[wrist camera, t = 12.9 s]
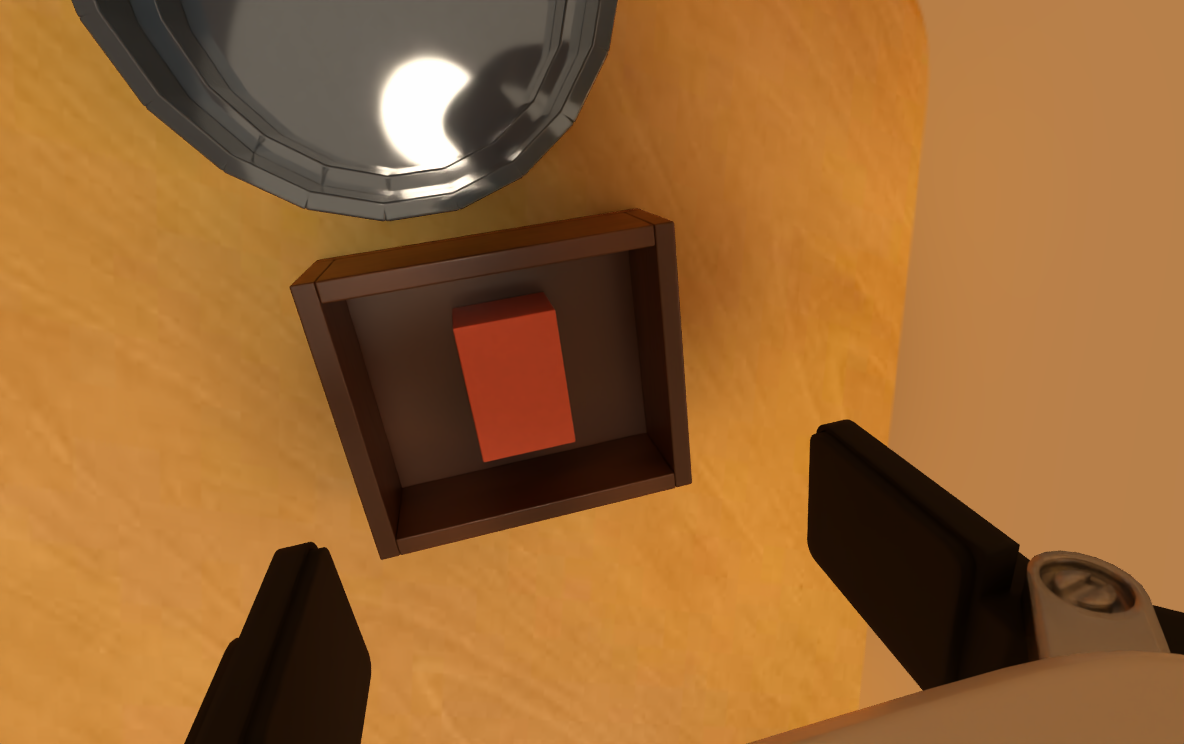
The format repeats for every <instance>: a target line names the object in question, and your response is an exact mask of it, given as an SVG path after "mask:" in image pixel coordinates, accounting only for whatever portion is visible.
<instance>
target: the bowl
mask: <svg viewBox="0 0 1184 744" xmlns="http://www.w3.org/2000/svg"><path fill="white" fill-rule="evenodd" d="M617 2H618V0H72V3H73V5H74V8H75V10H76V13H77V15H78V16H79V17H80V20H81V22H82V23H83V24H84V26H85V27H86V28H87V30H88V31H89V33H90V34H91V35H92V37H93V38H94V39H95V41H96V42H97V43H98V45H99V46H100V47H101V49H102V50H103V51H104V53H105V54H106V56H107V57H108V58H109V60H110V61H111V62H112V64H113V65H114V66H115V68H116V69H117V70H118V72H119V73H120V74H121V76H122V77H123V78H124V80H125V81H126V83H127V84H128V85H129V87H130V88H131V89H132V91H133V92H134V93H135V95H136V96H137V97H138V99H139V100H140V101H141V103H142V104H143V105H144V106H146V108H147V110H149V111H150V112H151V113H152V114H154V115H155V116H156V117H157V118H158V119H160V120H161V121H162V122H163V123H165V124H166V125H167V126H168V127H169V128H171V129H172V130H173V131H174V132H175V133H177V134H178V135H179V136H180V137H182V138H183V139H184V140H185V141H186V142H188V143H189V144H190V145H191V146H193V147H194V148H195V149H196V150H197V151H199V152H200V153H201V154H202V155H203V156H205V157H206V158H207V159H208V160H210V161H211V162H212V163H213V164H214V165H216V166H217V167H218V168H219V169H221V170H223V171H224V172H225V173H227V174H229V175H231V176H233V177H236V178H238V179H240V180H242V181H244V182H246V183H249V184H251V185H253V186H255V187H257V188H260V189H262V190H264V191H266V192H268V193H270V194H273V195H275V196H277V197H279V198H281V199H284V200H286V201H288V202H290V203H292V204H294V205H297V206H299V207H301V208H303V209H307V210H313V211H319V212H326V213H332V214H339V215H345V216H352V217H358V218H365V219H372V220H378V221H385V220H386V221H393V220H399V219H406V218H412V217H419V216H425V215H432V214H438V213H444V212H451V211H457V210H459V209H463V208H465V207H467V206H468V205H470V204H472V203H474V202H476V201H478V200H480V199H482V198H484V197H486V196H488V195H490V194H491V193H493V192H495V191H497V190H499V189H501V188H503V187H505V186H507V185H509V184H511V183H513V182H514V181H516V180H518V179H520V178H522V177H523V176H524V175H526V174H527V173H528V171H529V170H530V169H531V168H532V167H533V166H534V165H535V164H536V163H537V162H538V161H539V160H540V159H541V158H542V157H543V156H544V155H545V154H546V153H547V152H548V151H549V149H550V148H551V147H552V146H553V145H554V144H555V143H556V142H557V141H558V140H559V139H560V138H561V137H562V136H563V135H564V134H565V133H566V132H567V131H568V130H569V129H570V127H571V126H572V125H573V123H574V122H575V121H576V119H577V117H578V115H579V113H580V111H581V109H582V107H583V105H584V102H585V100H586V98H587V96H588V94H589V92H590V90H591V88H592V86H593V84H594V82H595V80H596V78H597V76H598V74H599V72H600V70H601V68H602V65H603V63H604V61H605V59H606V57H607V55H608V51H609V49H610V43H611V37H612V31H613V26H614V20H615V14H616V8H617Z"/></svg>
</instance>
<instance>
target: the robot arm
mask: <svg viewBox="0 0 1184 744" xmlns="http://www.w3.org/2000/svg"><path fill="white" fill-rule="evenodd" d="M807 542H808V547H809V550H810V553H811V555H812V557H813V558H814V560H815V561H816V562H817V563H818V565H819V566H820V567H821V568H822V569H823V571H824V572H825V573H826V574H827V575H828V577H829V578H830V579H831V580H832V581H833V583H834V584H835V585H836V586H837V588H838V589H839V590H840V591H841V592H842V594H843V595H844V596H845V597H846V598H847V600H848V601H849V602H850V603H851V604H852V606H853V607H854V608H855V609H856V610H857V612H858V613H859V614H860V615H861V616H862V618H863V619H864V620H865V621H866V622H867V624H868V625H869V626H870V627H871V628H872V630H873V631H874V632H875V633H876V635H877V636H878V637H879V638H880V639H881V640H882V642H883V643H884V644H885V645H886V646H887V648H888V649H889V650H890V651H891V653H892V654H893V655H894V656H895V657H896V659H897V660H898V661H899V662H900V663H901V665H902V666H903V667H904V668H905V669H906V671H907V672H908V673H909V674H910V675H911V677H912V678H913V679H914V680H915V681H916V683H917V684H918V685H919V686H920V688H921V689H922V690H923V691H920V692H917V693H914V694H910V695H907V696H904V697H900V698H897V699H894V700H890V701H887V702H884V703H880V704H877V705H874V706H871V707H867V708H864V709H861V710H857V711H854V712H850V713H847V714H844V715H840V716H837V717H834V718H830V719H827V720H824V721H820V722H817V723H814V724H810V725H807V726H804V727H800V728H797V729H794V730H790V731H787V732H784V733H780V734H777V735H774V736H771V737H767V738H764V739H761V740H757V741H754V742H751V743H748V744H1184V613H1182V612H1178V611H1174V610H1170V609H1166V608H1162V607H1158V606H1154V605H1152V603H1151V600H1150V598H1149V596H1148V594H1147V592H1146V591H1145V589H1144V588H1143V586H1142V585H1141V584H1140V583H1139V582H1138V581H1136V580H1135V579H1134V578H1133V577H1132V576H1131V575H1130V574H1128V573H1126V572H1125V571H1123V570H1121V569H1120V568H1118V567H1116V566H1115V565H1113V564H1110V563H1108V562H1106V561H1103V560H1101V559H1098V558H1096V557H1092V556H1088V555H1085V554H1081V553H1076V552H1067V551H1051V552H1044V553H1041V554H1039V555H1036V556H1034V557H1033V558H1032V559H1031V560H1029V559H1027V558H1026V557H1025V556H1023V555H1022V554H1021V553H1019V552H1018V551H1019V546H1020V545H1019V544H1018V543H1016V542H1015V541H1014V540H1012V539H1011V538H1009V537H1008V536H1007V535H1006V534H1004V533H1003V532H1002V531H1000V530H999V529H997V528H996V527H995V526H993V525H992V524H991V523H989V522H988V521H987V520H985V519H984V518H983V517H981V516H980V515H979V514H977V513H976V512H975V511H973V510H972V509H970V508H969V507H968V506H966V505H965V504H964V503H962V502H961V501H960V500H958V499H957V498H956V497H954V496H953V495H952V494H950V493H949V492H948V491H946V490H945V489H943V488H942V487H940V486H939V485H938V484H937V483H935V482H934V481H933V480H931V479H930V478H929V477H927V476H926V475H924V474H923V473H922V472H921V471H919V470H918V469H916V468H915V467H914V466H912V465H911V464H910V463H908V462H907V461H906V460H904V459H903V458H902V457H900V456H899V455H898V454H896V453H895V452H894V451H892V450H891V449H889V448H888V447H887V446H885V445H884V444H883V443H881V442H880V441H879V440H877V439H876V438H875V437H873V436H872V435H871V434H869V433H868V432H867V431H865V430H864V429H862V428H861V427H860V426H858V425H857V424H856V423H854V422H853V421H851V420H841V421H837V422H833V423H828V424H824V425H821V426H819V427H818V429H817V433H816V434H814V435H812V437H811V439H810V463H809V498H808V533H807ZM370 679H371V661H370V656H369V653H368V650H367V648H366V645H365V643H364V640H363V637H362V635H361V632H360V630H359V627H358V624H357V622H356V619H355V617H354V614H353V612H352V609H351V606H350V604H349V601H348V599H347V596H346V593H345V591H344V588H343V586H342V583H341V580H340V578H339V575H338V573H337V570H336V568H335V565H334V562H333V560H332V557H331V555H330V552H329V550H328V549H327V548H325V547H323V548H319V549H318V548H317V546H316V545H315V543H313V542H308V543H304V544H299V545H295V546H291V547H286V548H282V549H279V550H277V551H276V552H275V554H274V556H273V558H272V561H271V563H270V566H269V568H268V570H267V573H266V575H265V577H264V580H263V582H262V584H261V587H260V589H259V592H258V594H257V596H256V599H255V601H254V603H253V606H252V608H251V610H250V613H249V615H248V618H247V620H246V622H245V625H244V627H243V629H242V632H241V634H240V636H239V638H236V639H234V640H233V641H232V642H230V644H229V645H228V647H227V649H226V650H225V652H224V655H223V657H222V659H221V661H220V664H219V666H218V668H217V671H216V673H215V675H214V677H213V680H212V682H211V684H210V686H209V689H208V691H207V693H206V696H205V698H204V700H203V702H202V705H201V707H200V709H199V712H198V714H197V716H196V718H195V721H194V723H193V725H192V727H191V730H190V732H189V734H188V737H187V739H186V741H185V743H184V744H361V738H362V731H363V725H364V718H365V712H366V705H367V699H368V692H369V686H370Z"/></svg>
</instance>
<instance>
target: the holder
mask: <svg viewBox="0 0 1184 744" xmlns="http://www.w3.org/2000/svg"><path fill="white" fill-rule="evenodd" d="M290 290H291V293H292V296H293V299H294V302H295V305H296V308H297V311H298V314H299V317H300V320H301V323H302V326H303V329H304V332H305V335H306V338H307V341H308V344H309V347H310V350H311V353H312V356H313V359H314V362H315V365H316V368H317V371H318V374H319V377H320V380H321V383H322V386H323V389H324V392H325V395H326V398H327V401H328V404H329V407H330V410H331V413H332V416H333V419H334V422H335V425H336V428H337V431H338V434H339V437H340V440H341V442H342V445H343V448H344V451H345V454H346V457H347V460H348V463H349V466H350V469H351V472H352V475H353V478H354V481H355V484H356V487H357V490H358V493H359V496H360V499H361V502H362V505H363V508H364V511H365V514H366V517H367V520H368V523H369V526H370V529H371V532H372V535H373V538H374V541H375V544H376V547H377V550H378V553H379V556H380V559H381V560H383V559H387V558H391V557H395V556H399V555H400V554H401V555H403V554H407V553H411V552H416V551H420V550H424V549H428V548H432V547H436V546H440V545H444V544H448V543H452V542H456V541H460V540H465V539H469V538H473V537H477V536H481V535H485V534H489V533H493V532H497V531H501V530H505V529H509V528H514V527H518V526H522V525H526V524H530V523H534V522H538V521H542V520H546V519H550V518H554V517H558V516H562V515H567V514H571V513H575V512H579V511H583V510H587V509H591V508H595V507H599V506H603V505H607V504H611V503H616V502H620V501H624V500H628V499H632V498H636V497H640V496H644V495H648V494H652V493H656V492H660V491H665V490H669V489H673V488H675V486H676V487H680V486H684V485H688V484H691V483H692V476H691V461H690V447H689V432H688V418H687V403H686V389H685V374H684V360H683V345H682V331H681V316H680V302H679V287H678V273H677V258H676V244H675V229H674V222H673V221H670V220H668V219H665V218H662V217H660V216H657V215H654V214H651V213H649V212H646V211H643V210H641V209H638V208H635V209H628V210H622V211H616V212H610V213H604V214H598V215H592V216H586V217H579V218H573V219H567V220H561V221H555V222H549V223H543V224H537V225H531V226H524V227H518V228H512V229H506V230H500V231H494V232H488V233H482V234H475V235H469V236H463V237H457V238H451V239H445V240H439V241H433V242H427V243H420V244H414V245H408V246H402V247H396V248H390V249H384V250H378V251H371V252H365V253H359V254H353V255H347V256H341V257H335V258H329V259H322V260H317V261H316V262H315V263H314V264H313V265H312V266H310V267H309V268H308V269H307V270H306V271H305V272H304V273H303V274H302V275H301V276H300V277H299V278H298V279H297V280H296V281H295V282H294V283H293V284H292V285H291V286H290ZM540 292H544V294H545V295H546V297H547V298H548V300H549V302H550V303H551V305H552V306H553V308H554V309H555V312H556V318H557V325H558V331H559V337H560V344H561V350H562V357H563V363H564V369H565V376H566V382H567V389H568V395H569V402H570V408H571V414H572V421H573V427H574V434H575V442H573V443H568V444H564V445H559V446H555V447H550V448H546V449H542V450H537V451H533V452H528V453H524V454H519V455H515V456H511V457H506V458H502V459H497V460H493V461H488V462H483V459H482V455H481V450H480V446H479V442H478V437H477V433H476V429H475V424H474V420H473V416H472V411H471V407H470V403H469V398H468V394H467V389H466V385H465V381H464V376H463V372H462V368H461V363H460V359H459V355H458V350H457V346H456V342H455V337H454V333H453V322H452V309H453V308H457V307H463V306H468V305H474V304H479V303H485V302H490V301H496V300H501V299H507V298H512V297H518V296H523V295H529V294H534V293H540Z"/></svg>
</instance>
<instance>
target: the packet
mask: <svg viewBox="0 0 1184 744" xmlns="http://www.w3.org/2000/svg"><path fill="white" fill-rule="evenodd" d="M452 322H453V333H454V337H455V342H456V346H457V350H458V355H459V359H460V363H461V368H462V372H463V376H464V381H465V385H466V389H467V394H468V398H469V403H470V407H471V411H472V416H473V420H474V424H475V429H476V433H477V437H478V442H479V446H480V450H481V455H482V459H483V462H488V461H493V460H497V459H502V458H506V457H511V456H515V455H519V454H524V453H528V452H533V451H537V450H542V449H546V448H550V447H555V446H559V445H564V444H568V443H573V442H575V434H574V427H573V421H572V414H571V408H570V402H569V395H568V389H567V382H566V376H565V369H564V363H563V357H562V350H561V344H560V337H559V331H558V325H557V318H556V312H555V309H554V308H553V306H552V305H551V303H550V302H549V300H548V298H547V297H546V295H545V294H544V292H540V293H534V294H529V295H523V296H518V297H512V298H507V299H501V300H496V301H490V302H485V303H479V304H474V305H468V306H463V307H457V308H453V309H452Z"/></svg>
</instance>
